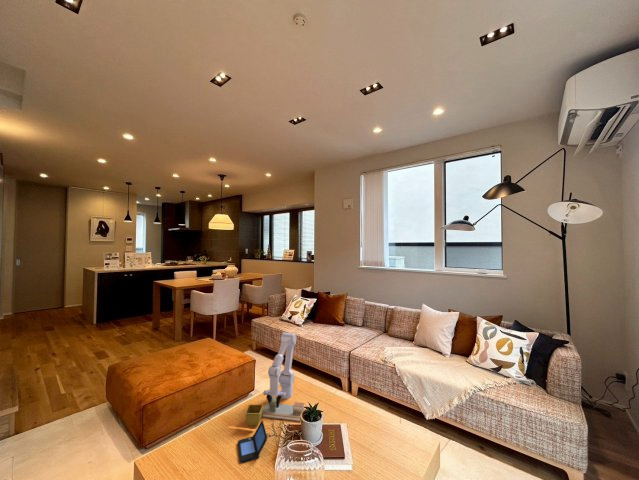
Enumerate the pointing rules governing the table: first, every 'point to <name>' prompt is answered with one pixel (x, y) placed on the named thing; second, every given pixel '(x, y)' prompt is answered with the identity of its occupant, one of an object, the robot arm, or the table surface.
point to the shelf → (280, 412)
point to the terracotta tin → (298, 408)
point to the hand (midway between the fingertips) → (274, 406)
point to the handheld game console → (252, 445)
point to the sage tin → (273, 404)
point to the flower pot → (253, 414)
